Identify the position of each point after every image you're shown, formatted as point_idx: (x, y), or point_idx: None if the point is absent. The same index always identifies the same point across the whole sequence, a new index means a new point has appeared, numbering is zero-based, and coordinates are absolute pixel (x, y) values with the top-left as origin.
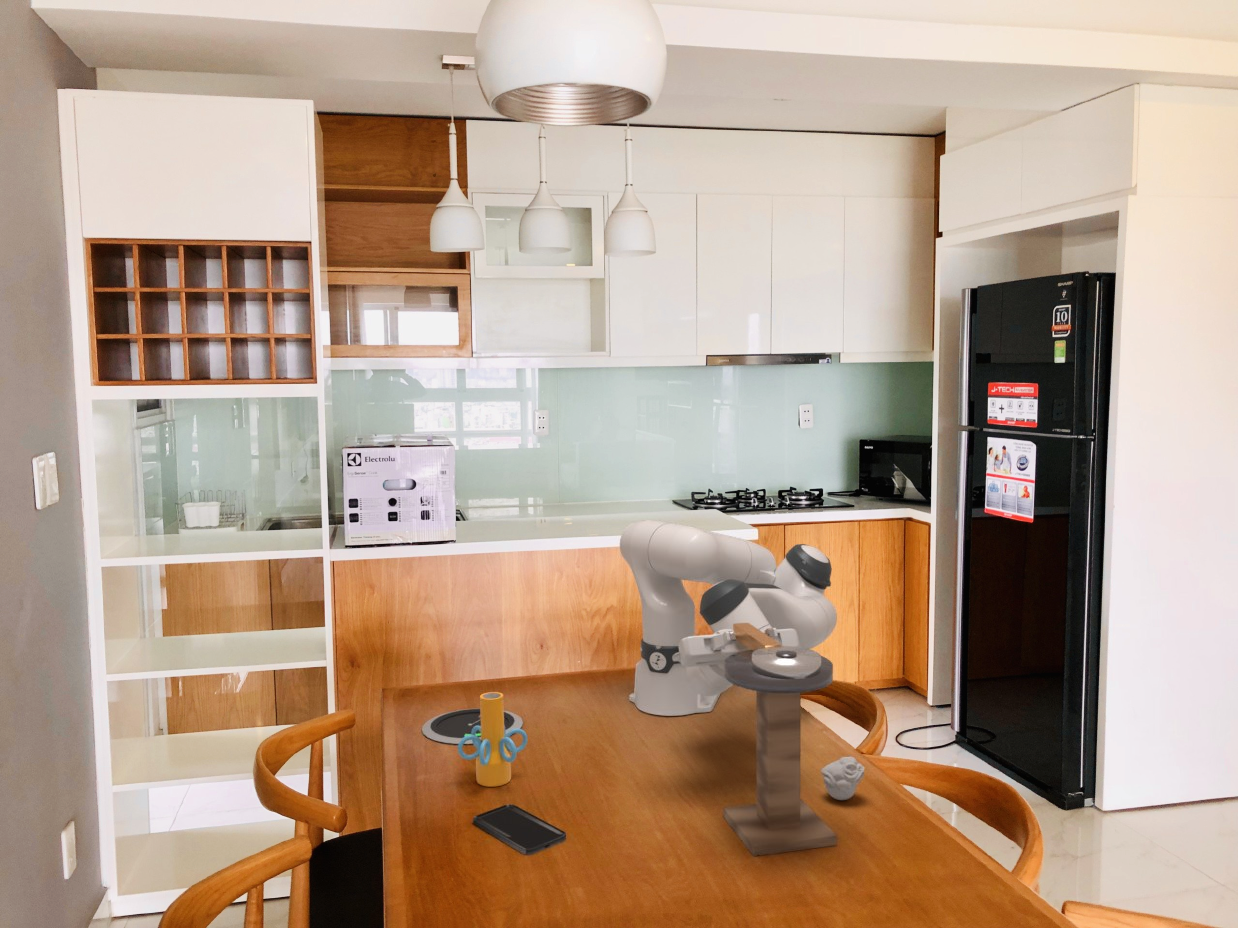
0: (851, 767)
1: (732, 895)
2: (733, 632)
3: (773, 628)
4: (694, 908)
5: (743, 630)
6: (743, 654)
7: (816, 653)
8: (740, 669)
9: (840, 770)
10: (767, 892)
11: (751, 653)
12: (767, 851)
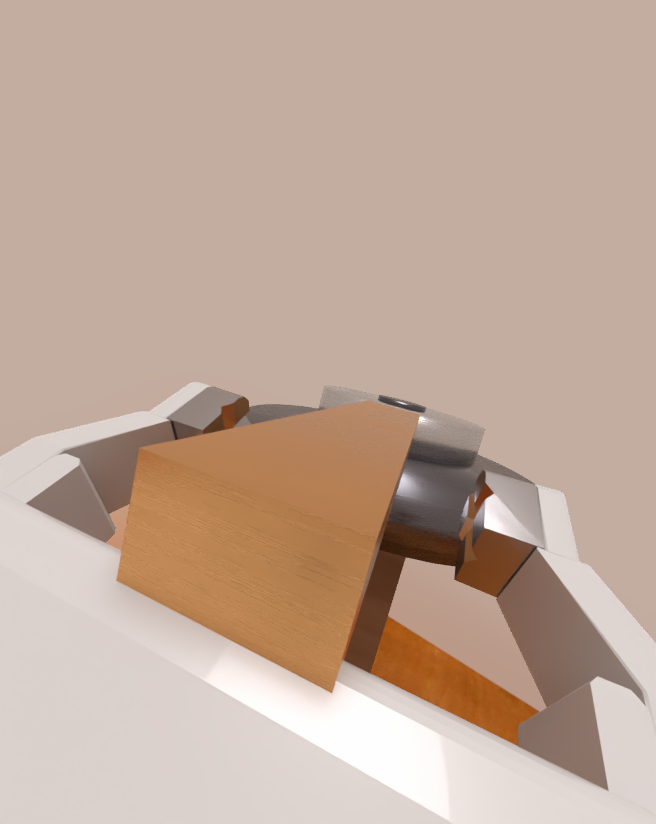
0: None
1: (462, 703)
2: (489, 476)
3: (212, 387)
4: (520, 716)
5: (405, 447)
6: (456, 495)
7: (333, 387)
8: (507, 474)
9: None
10: (415, 677)
11: (419, 484)
12: None
